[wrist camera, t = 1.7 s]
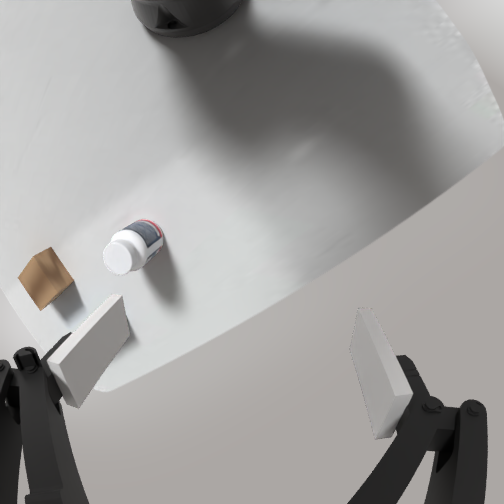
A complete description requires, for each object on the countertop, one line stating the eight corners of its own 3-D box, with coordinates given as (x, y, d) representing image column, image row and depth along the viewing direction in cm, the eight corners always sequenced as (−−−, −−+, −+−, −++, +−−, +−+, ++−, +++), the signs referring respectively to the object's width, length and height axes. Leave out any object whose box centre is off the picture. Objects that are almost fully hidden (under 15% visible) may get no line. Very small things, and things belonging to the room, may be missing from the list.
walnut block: (35, 267, 44) (17, 277, 39) (51, 246, 42) (33, 256, 37) (56, 298, 45) (40, 310, 41) (74, 280, 44) (57, 292, 39)
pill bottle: (130, 216, 39) (97, 233, 31) (165, 220, 39) (137, 239, 31) (130, 252, 41) (99, 276, 33) (163, 258, 41) (137, 284, 32)
